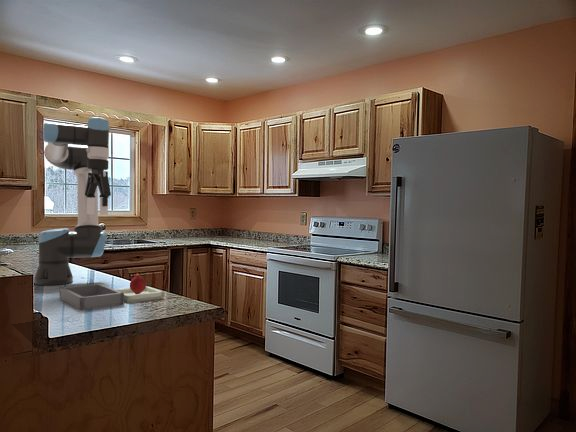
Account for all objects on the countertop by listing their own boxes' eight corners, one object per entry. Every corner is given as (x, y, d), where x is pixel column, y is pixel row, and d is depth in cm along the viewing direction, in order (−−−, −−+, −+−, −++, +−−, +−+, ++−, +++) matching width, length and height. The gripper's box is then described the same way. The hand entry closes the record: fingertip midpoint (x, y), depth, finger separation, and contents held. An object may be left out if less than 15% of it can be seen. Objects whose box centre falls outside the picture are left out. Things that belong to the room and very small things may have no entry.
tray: (111, 296, 169) (111, 289, 168) (146, 292, 178) (147, 286, 178) (127, 303, 158) (127, 296, 158) (163, 298, 168) (163, 291, 168)
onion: (147, 293, 171) (148, 272, 171) (143, 296, 165) (143, 275, 165) (132, 293, 171) (132, 272, 171) (127, 296, 165) (127, 274, 165)
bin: (59, 298, 163) (59, 287, 163) (99, 294, 173) (100, 283, 172) (80, 310, 146) (80, 298, 146) (123, 304, 156) (123, 293, 156)
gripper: (76, 160, 177) (75, 213, 177) (100, 156, 158) (99, 215, 159) (95, 161, 182) (95, 213, 182) (120, 158, 164) (119, 215, 164)
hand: (96, 214), depth 171 cm, fingers open, 13 cm apart
